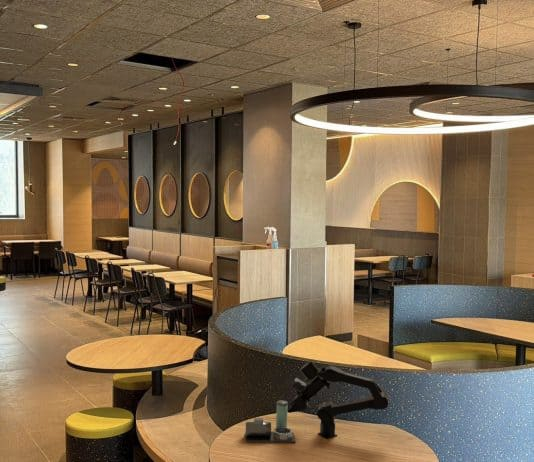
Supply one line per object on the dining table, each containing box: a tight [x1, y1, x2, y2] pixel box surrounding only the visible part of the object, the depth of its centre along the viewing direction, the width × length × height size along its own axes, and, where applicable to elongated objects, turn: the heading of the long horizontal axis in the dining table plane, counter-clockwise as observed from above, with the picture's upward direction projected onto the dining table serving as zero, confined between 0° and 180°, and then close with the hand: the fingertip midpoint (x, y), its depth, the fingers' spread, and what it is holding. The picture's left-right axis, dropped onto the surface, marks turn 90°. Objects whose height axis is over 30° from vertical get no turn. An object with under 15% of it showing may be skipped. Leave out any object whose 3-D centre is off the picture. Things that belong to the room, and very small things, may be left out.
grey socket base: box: [244, 417, 296, 444], centre depth 262 cm, size 22×10×8 cm, turn 93°
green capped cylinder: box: [275, 399, 289, 428], centre depth 271 cm, size 5×5×13 cm
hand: (289, 408), depth 270 cm, fingers open, 9 cm apart
